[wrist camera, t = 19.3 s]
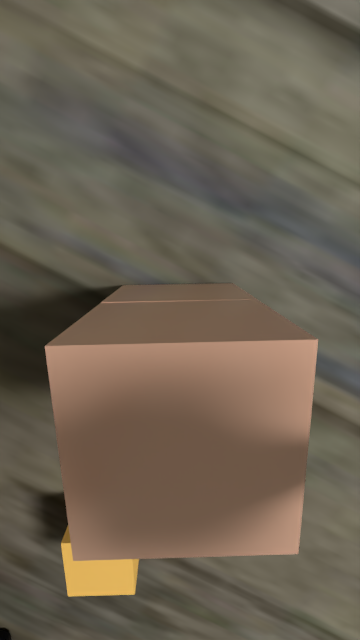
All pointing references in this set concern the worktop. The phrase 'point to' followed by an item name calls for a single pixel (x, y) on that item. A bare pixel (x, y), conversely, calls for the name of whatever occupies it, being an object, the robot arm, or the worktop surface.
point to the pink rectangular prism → (182, 429)
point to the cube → (98, 574)
